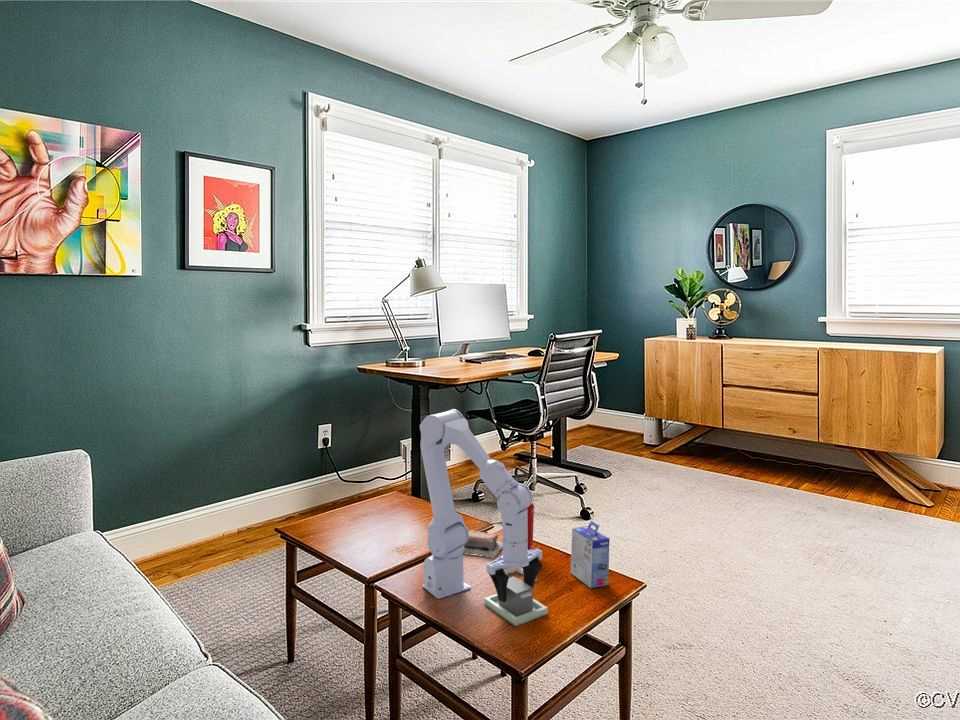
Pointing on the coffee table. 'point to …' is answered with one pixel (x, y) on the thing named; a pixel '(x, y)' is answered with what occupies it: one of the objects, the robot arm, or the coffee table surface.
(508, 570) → the frame
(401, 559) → the coffee table surface
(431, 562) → the robot arm
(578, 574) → the ink cartridge box
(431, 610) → the coffee table surface
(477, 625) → the coffee table surface
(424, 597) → the coffee table surface
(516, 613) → the grey tabbed box
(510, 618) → the tray
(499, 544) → the packaged product
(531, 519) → the beverage can
